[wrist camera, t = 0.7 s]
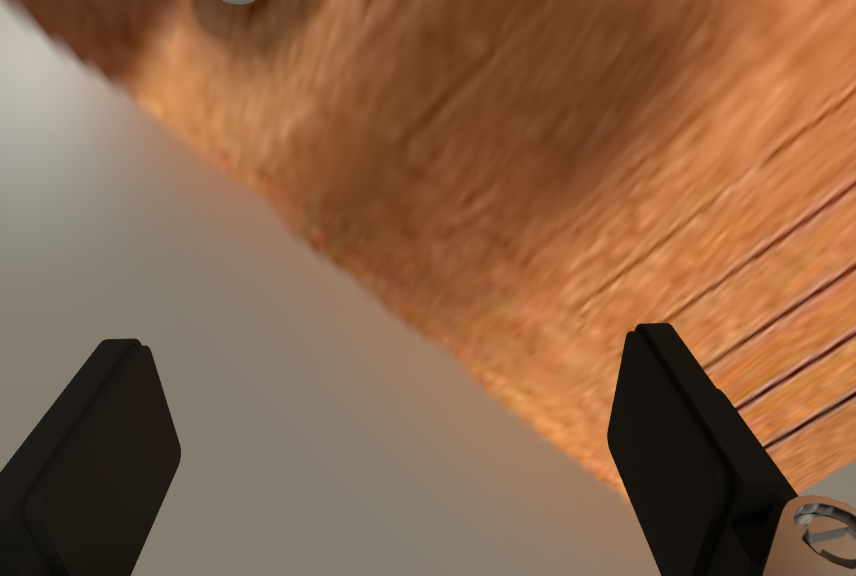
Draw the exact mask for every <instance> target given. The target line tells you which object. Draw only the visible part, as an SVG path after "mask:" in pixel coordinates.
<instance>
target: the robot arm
mask: <svg viewBox="0 0 856 576" xmlns="http://www.w3.org/2000/svg"><path fill="white" fill-rule="evenodd" d="M607 439H608V446H609V449H610V452H611V455H612V457H613V459H614V462H615V464H616V467H617V469H618V472H619V474H620V476H621V479H622V481H623V484H624V486H625V489H626V491H627V493H628V496H629V498H630V501H631V503H632V506H633V508H634V510H635V513H636V515H637V518H638V520H639V523H640V525H641V527H642V530H643V532H644V535H645V537H646V540H647V542H648V544H649V547H650V549H651V552H652V554H653V556H654V559H655V561H656V564H657V566H658V569H659V571H660V574H661V576H856V509H855V508H853V507H851V506H849V505H848V504H846V503H843V502H840V501H837V500H834V499H831V498H828V497H822V496H815V495H807V496H798V495H797V494H796V492H795V491H794V489H793V488H792V487H791V485H790V484H789V482H788V481H787V480H786V478H785V477H784V476H783V474H782V473H781V471H780V470H779V469H778V467H777V466H776V464H775V463H774V462H773V460H772V459H771V458H770V456H769V455H768V453H767V452H766V451H765V449H764V448H763V446H762V445H761V444H760V442H759V441H758V440H757V438H756V437H755V435H754V434H753V433H752V431H751V430H750V428H749V427H748V426H747V424H746V423H745V422H744V420H743V419H742V417H741V416H740V415H739V413H738V412H737V410H736V409H735V408H734V406H733V405H732V404H731V402H730V401H729V399H728V398H727V397H726V395H725V394H724V393H723V392H722V391H721V390H719V389H717V388H716V387H715V386H714V384H713V383H712V381H711V380H710V379H709V377H708V376H707V374H706V373H705V372H704V370H703V369H702V367H701V366H700V365H699V363H698V362H697V360H696V359H695V358H694V356H693V355H692V353H691V352H690V351H689V349H688V348H687V346H686V345H685V344H684V342H683V341H682V339H681V338H680V337H679V335H678V334H677V332H676V331H675V330H674V328H673V327H672V326H671V325H670V324H669V323H649V324H639V325H637V327H636V328H635V331H630V332H628V333H627V335H626V339H625V344H624V349H623V355H622V360H621V365H620V370H619V375H618V380H617V385H616V391H615V396H614V401H613V406H612V411H611V416H610V421H609V427H608V433H607ZM180 458H181V448H180V443H179V440H178V437H177V434H176V431H175V427H174V424H173V421H172V417H171V414H170V411H169V408H168V404H167V401H166V398H165V395H164V391H163V389H162V385H161V382H160V379H159V375H158V372H157V369H156V366H155V363H154V359H153V356H152V353H151V350H150V348H149V347H148V346H142V345H141V343H140V341H139V340H137V339H106V340H103V341H102V342H101V343H100V344H99V345H98V347H97V348H96V349H95V351H94V352H93V353H92V354H91V356H90V357H89V358H88V359H87V361H86V362H85V364H84V365H83V366H82V367H81V369H80V370H79V371H78V373H77V374H76V375H75V376H74V378H73V379H72V380H71V382H70V383H69V384H68V385H67V387H66V388H65V389H64V391H63V392H62V393H61V395H60V396H59V397H58V398H57V400H56V401H55V403H54V404H53V405H52V406H51V407H50V409H49V410H48V411H47V413H46V414H45V415H44V416H43V418H42V419H41V420H40V422H39V423H38V424H37V426H36V427H35V428H34V429H33V431H32V432H31V433H30V435H29V436H28V437H27V439H26V440H25V441H24V442H23V444H22V445H21V446H20V448H19V449H18V450H17V452H16V453H15V454H14V455H13V457H12V458H11V459H10V461H9V462H8V463H7V465H6V466H5V467H4V468H3V470H2V471H1V472H0V576H131V573H132V571H133V569H134V566H135V564H136V562H137V560H138V557H139V555H140V553H141V550H142V548H143V546H144V544H145V541H146V539H147V537H148V534H149V532H150V530H151V528H152V525H153V523H154V521H155V518H156V516H157V514H158V512H159V509H160V507H161V505H162V502H163V500H164V498H165V496H166V493H167V491H168V489H169V486H170V484H171V482H172V479H173V477H174V475H175V473H176V470H177V468H178V466H179V463H180Z"/></svg>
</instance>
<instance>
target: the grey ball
mask: <svg viewBox="0 0 856 576" xmlns="http://www.w3.org/2000/svg"><path fill="white" fill-rule="evenodd" d="M222 1H224V2H226V3H230V4H235V5H244V4H249V3H251V2H254V1H255V0H222Z"/></svg>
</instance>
